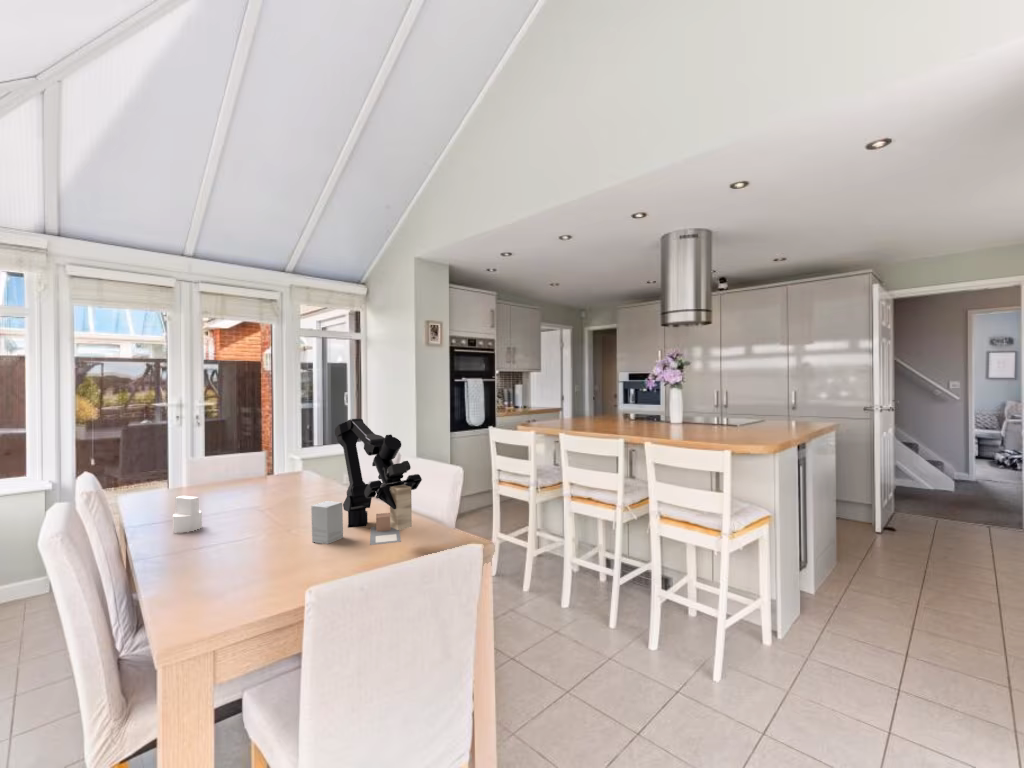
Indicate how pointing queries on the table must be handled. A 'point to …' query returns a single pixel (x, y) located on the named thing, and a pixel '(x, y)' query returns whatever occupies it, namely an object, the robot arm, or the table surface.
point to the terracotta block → (383, 522)
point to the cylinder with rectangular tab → (187, 514)
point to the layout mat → (384, 536)
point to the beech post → (401, 507)
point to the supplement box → (327, 522)
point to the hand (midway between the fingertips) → (402, 507)
